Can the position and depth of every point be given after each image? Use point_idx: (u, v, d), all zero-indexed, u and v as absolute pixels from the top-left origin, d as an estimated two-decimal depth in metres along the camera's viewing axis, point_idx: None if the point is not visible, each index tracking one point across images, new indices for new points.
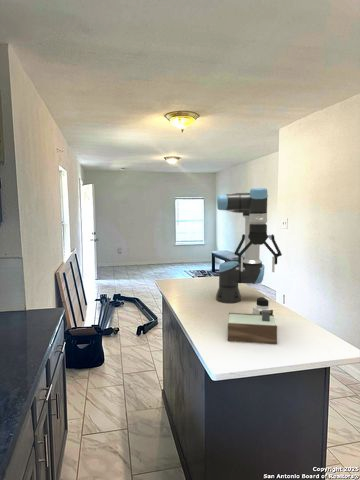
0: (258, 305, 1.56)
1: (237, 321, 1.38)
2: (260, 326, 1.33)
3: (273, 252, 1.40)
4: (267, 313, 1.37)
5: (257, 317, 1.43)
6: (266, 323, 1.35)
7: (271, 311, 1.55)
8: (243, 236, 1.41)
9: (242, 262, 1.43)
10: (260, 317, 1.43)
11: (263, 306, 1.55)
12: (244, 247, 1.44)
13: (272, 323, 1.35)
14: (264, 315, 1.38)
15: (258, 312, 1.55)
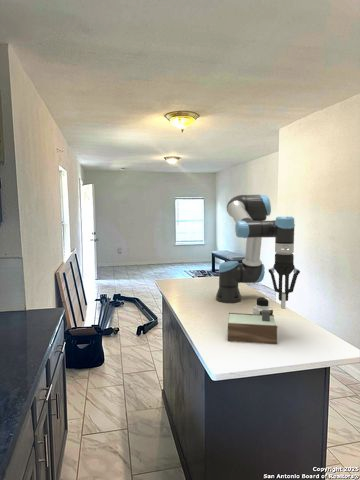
0: (258, 305, 1.56)
1: (237, 321, 1.38)
2: (260, 326, 1.33)
3: (287, 288, 1.35)
4: (267, 313, 1.37)
5: (257, 317, 1.43)
6: (266, 323, 1.35)
7: (271, 311, 1.55)
8: (270, 271, 1.36)
9: (283, 299, 1.36)
10: (260, 317, 1.43)
11: (263, 306, 1.55)
12: None
13: (272, 323, 1.35)
14: (264, 315, 1.38)
15: (258, 312, 1.55)
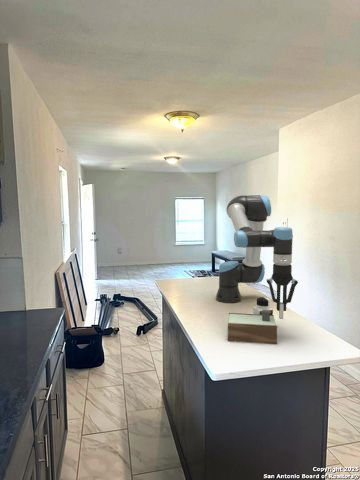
0: (258, 305, 1.56)
1: (237, 321, 1.38)
2: (260, 326, 1.33)
3: (285, 298, 1.36)
4: (267, 313, 1.37)
5: (257, 317, 1.43)
6: (266, 323, 1.35)
7: (271, 311, 1.55)
8: (268, 282, 1.36)
9: (281, 309, 1.36)
10: (260, 317, 1.43)
11: (263, 306, 1.55)
12: None
13: (272, 323, 1.35)
14: (264, 315, 1.38)
15: (258, 312, 1.55)
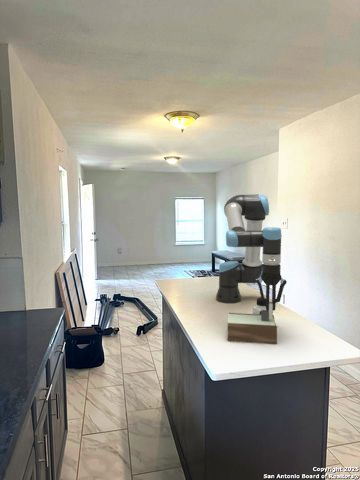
0: (258, 305, 1.56)
1: (236, 321, 1.38)
2: (260, 326, 1.33)
3: (274, 298, 1.37)
4: (266, 313, 1.37)
5: (256, 317, 1.43)
6: (265, 323, 1.35)
7: None
8: (257, 281, 1.37)
9: (270, 309, 1.37)
10: (259, 317, 1.43)
11: (263, 306, 1.55)
12: None
13: (271, 323, 1.35)
14: (263, 315, 1.38)
15: (258, 312, 1.55)
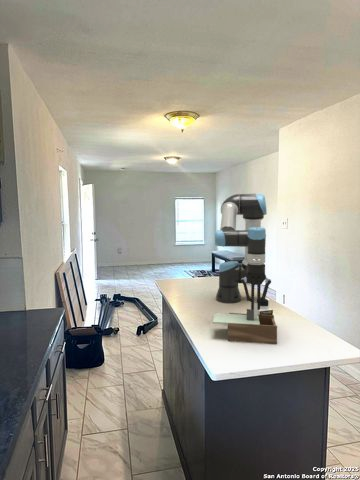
0: None
1: (221, 320, 1.39)
2: (260, 326, 1.33)
3: (259, 297, 1.38)
4: (251, 312, 1.39)
5: (242, 316, 1.44)
6: (250, 322, 1.36)
7: (271, 311, 1.55)
8: (242, 281, 1.38)
9: (255, 308, 1.38)
10: (245, 316, 1.44)
11: (263, 306, 1.55)
12: None
13: (256, 322, 1.36)
14: (248, 314, 1.39)
15: (258, 312, 1.55)
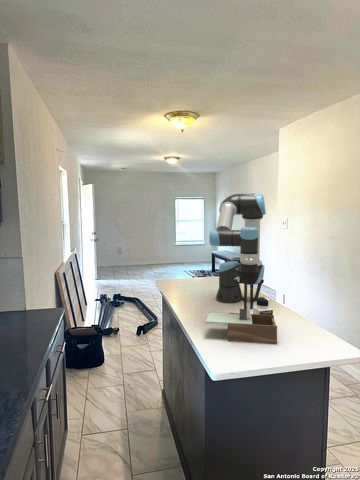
0: (258, 305, 1.56)
1: (214, 320, 1.40)
2: (260, 326, 1.33)
3: (252, 296, 1.38)
4: (244, 312, 1.39)
5: (235, 316, 1.44)
6: (243, 322, 1.37)
7: (271, 311, 1.55)
8: (235, 280, 1.39)
9: (248, 308, 1.39)
10: (238, 316, 1.44)
11: (263, 306, 1.55)
12: None
13: (249, 322, 1.37)
14: (241, 314, 1.40)
15: (258, 312, 1.55)
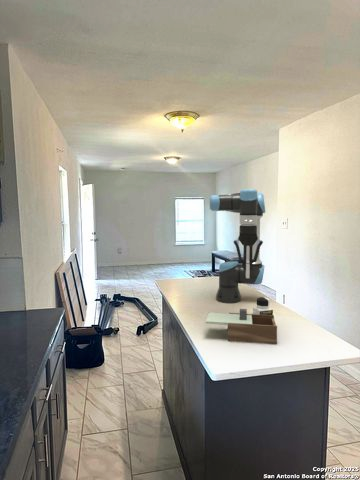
0: (258, 305, 1.56)
1: (214, 320, 1.40)
2: (260, 326, 1.33)
3: (251, 258, 1.41)
4: (244, 312, 1.39)
5: (235, 316, 1.44)
6: (243, 322, 1.37)
7: (271, 311, 1.55)
8: (235, 242, 1.41)
9: (247, 269, 1.42)
10: (238, 316, 1.44)
11: (263, 306, 1.55)
12: (243, 253, 1.44)
13: (248, 322, 1.37)
14: (241, 314, 1.40)
15: (258, 312, 1.55)
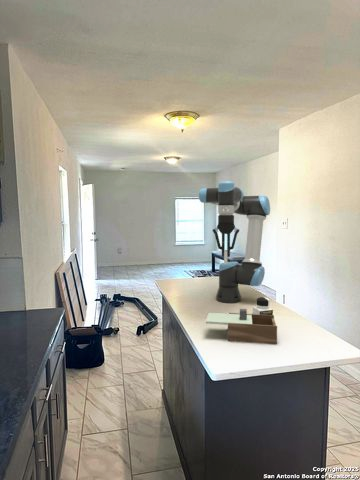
0: (258, 305, 1.56)
1: (214, 320, 1.40)
2: (260, 326, 1.33)
3: (228, 245, 1.53)
4: (244, 312, 1.39)
5: (235, 316, 1.44)
6: (243, 322, 1.37)
7: (271, 311, 1.55)
8: (214, 230, 1.53)
9: (225, 255, 1.53)
10: (238, 316, 1.44)
11: (263, 306, 1.55)
12: None
13: (248, 322, 1.37)
14: (241, 314, 1.40)
15: (258, 312, 1.55)
